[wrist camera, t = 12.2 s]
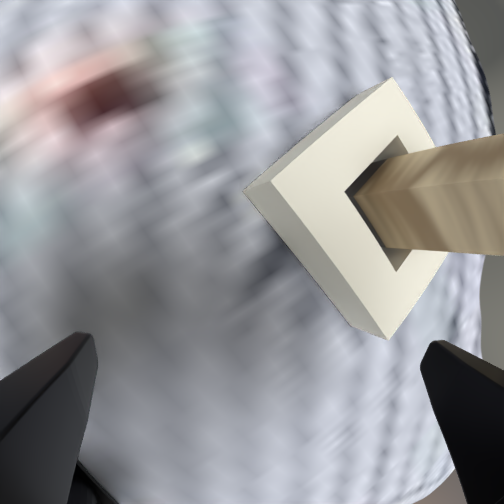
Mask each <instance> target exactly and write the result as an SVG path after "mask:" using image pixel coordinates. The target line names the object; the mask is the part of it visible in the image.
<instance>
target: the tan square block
mask: <svg viewBox="0 0 504 504" xmlns="http://www.w3.org/2000/svg"><path fill="white" fill-rule="evenodd" d="M344 192H345V194H346V195H347V196H348V198H349V199H350V201H351V202H352V204H353V205H354V207H355V208H356V210H357V211H358V213H359V214H360V216H361V217H362V219H363V220H364V222H365V223H366V225H367V226H368V228H369V229H370V231H371V233H372V234H373V236H374V237H375V239H376V240H377V242H378V244H379V245H380V247H383V248H398V249H413V250H428V251H442V252H456V253H470V254H484V255H497V256H504V134H499V135H494V136H489V137H483V138H478V139H473V140H468V141H464V142H459V143H454V144H449V145H445V146H440V147H436V148H431V149H427V150H422V151H418V152H414V153H409V154H405V155H401V156H397V157H392V158H388V159H384V160H380V161H376V162H372V163H371V164H370V165H369V166H368V167H367V168H366V169H365V170H364V171H363V172H362V173H361V174H360V175H359V176H358V177H357V179H356V180H355V181H354V182H353V183H352V184H351V185H350V186H349V187H348V188H347V189H346V190H345V191H344Z"/></svg>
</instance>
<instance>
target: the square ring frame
mask: <svg viewBox="0 0 504 504" xmlns="http://www.w3.org/2000/svg"><path fill="white" fill-rule="evenodd" d="M431 148H436V147H435V145H434V143H433V141H432V140H431V138H430V136H429V134H428V133H427V131H426V129H425V127H424V126H423V124H422V122H421V121H420V119H419V117H418V116H417V114H416V112H415V111H414V109H413V108H412V106H411V104H410V103H409V101H408V100H407V98H406V97H405V95H404V94H403V92H402V91H401V89H400V88H399V86H398V85H397V83H396V82H395V80H394V79H393V77H391V78H389V79H387V80H385V81H383V82H381V83H379V84H377V85H375V86H373V87H371V88H369V89H367V90H365V91H363V92H362V93H360V94H358V95H356V96H355V97H354V98H352V99H351V100H350V101H349V102H347V103H346V104H345V105H344V106H342V107H341V108H340V109H339V110H337V111H336V112H335V113H334V114H332V115H331V116H330V117H329V118H328V119H326V120H325V121H324V122H323V123H321V124H320V125H319V126H318V127H317V128H315V129H314V130H313V131H312V132H311V133H309V134H308V135H307V136H306V137H305V138H303V139H302V140H301V141H300V142H299V143H297V144H296V145H295V146H294V147H293V148H292V149H290V150H289V151H288V152H287V153H286V154H285V155H283V156H282V157H281V158H280V159H279V160H278V161H276V162H275V163H274V164H273V165H272V166H271V167H269V168H268V169H267V170H266V171H265V172H264V173H263V174H261V175H260V176H259V177H258V178H257V179H256V180H255V181H253V182H252V183H251V184H250V185H249V186H248V187H247V188H246V189H244V190H243V192H244V194H245V195H246V196H247V197H248V198H249V200H250V201H251V202H252V203H253V204H254V206H255V207H256V208H257V209H258V210H259V212H260V213H261V214H262V215H263V216H264V218H265V219H266V220H267V221H268V223H269V224H270V225H271V226H272V227H273V229H274V230H275V231H276V232H277V234H278V235H279V236H280V237H281V239H282V240H283V241H284V242H285V243H286V245H287V246H288V247H289V248H290V250H291V251H292V252H293V253H294V255H295V256H296V257H297V258H298V260H299V261H300V262H301V263H302V265H303V266H304V267H305V268H306V270H307V271H308V272H309V273H310V275H311V276H312V277H313V278H314V280H315V281H316V282H317V284H318V285H319V286H320V287H321V289H322V290H323V291H324V292H325V294H326V295H327V296H328V297H329V299H330V300H331V301H332V303H333V304H334V305H335V306H336V308H337V309H338V310H339V312H340V313H341V314H342V315H343V317H344V318H345V319H346V321H347V322H348V323H349V325H350V326H352V327H355V328H357V329H360V330H362V331H365V332H367V333H370V334H372V335H375V336H378V337H380V338H383V339H385V340H388V341H389V339H390V338H391V337H392V335H393V334H394V333H395V331H396V330H397V329H398V327H399V326H400V325H401V323H402V322H403V320H404V319H405V318H406V316H407V315H408V314H409V312H410V311H411V309H412V308H413V306H414V305H415V304H416V302H417V301H418V299H419V298H420V296H421V295H422V293H423V292H424V290H425V289H426V287H427V286H428V284H429V283H430V281H431V280H432V278H433V277H434V275H435V273H436V272H437V270H438V269H439V267H440V265H441V264H442V262H443V261H444V259H445V257H446V256H447V254H448V252H442V251H428V250H413V249H398V248H383V247H380V245H379V244H378V242H377V240H376V239H375V237H374V236H373V234H372V233H371V231H370V229H369V228H368V226H367V225H366V223H365V222H364V220H363V219H362V217H361V216H360V214H359V213H358V211H357V210H356V208H355V207H354V205H353V204H352V202H351V201H350V199H349V198H348V196H347V195H346V194H345V192H344V191H345V190H346V189H347V188H348V187H349V186H350V185H351V184H352V183H353V182H354V181H355V180H356V179H357V177H358V176H359V175H360V174H361V173H362V172H363V171H364V170H365V169H366V168H367V167H368V166H369V165H370V164H371V163H372V162H376V161H380V160H384V159H388V158H392V157H397V156H401V155H405V154H409V153H414V152H418V151H422V150H427V149H431Z"/></svg>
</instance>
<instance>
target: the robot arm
mask: <svg viewBox="0 0 504 504" xmlns="http://www.w3.org/2000/svg"><path fill="white" fill-rule="evenodd" d="M97 369H98V358H97V353H96V348H95V343H94V338H93V336H92V335H91V334H90V333H85V332H75V333H73V334H71V335H70V336H68V337H67V338H65V339H63V340H62V341H60V342H59V343H57V344H56V345H54V346H52V347H51V348H49V349H48V350H46V351H45V352H43V353H42V354H40V355H39V356H37V357H35V358H34V359H32V360H31V361H29V362H28V363H26V364H25V365H23V366H22V367H20V368H19V369H17V370H16V371H14V372H13V373H11V374H9V375H8V376H6V377H5V378H3V379H2V380H0V504H118V503H117V502H116V501H115V500H114V499H113V498H112V497H111V496H110V495H109V494H108V493H107V492H106V491H105V490H104V489H103V488H102V487H101V486H100V485H99V484H98V483H97V482H96V481H95V479H94V478H93V477H92V476H91V475H90V474H89V473H88V472H87V471H86V470H85V468H84V467H83V466H82V465H81V464H80V463H79V461H78V460H77V458H78V454H79V451H80V447H81V443H82V440H83V436H84V432H85V429H86V425H87V421H88V417H89V411H90V406H91V400H92V395H93V389H94V384H95V379H96V374H97ZM420 371H421V374H422V377H423V380H424V383H425V386H426V389H427V392H428V395H429V399H430V402H431V405H432V408H433V411H434V414H435V416H436V419H437V421H438V424H439V426H440V429H441V431H442V434H443V437H444V439H445V442H446V444H447V447H448V450H449V452H450V455H451V458H452V460H453V463H454V466H455V469H456V471H457V474H458V477H459V480H460V483H461V486H462V489H463V492H464V495H465V499H466V502H467V504H504V370H502V369H500V368H498V367H496V366H494V365H492V364H490V363H488V362H486V361H484V360H482V359H480V358H478V357H476V356H474V355H472V354H471V353H469V352H467V351H465V350H463V349H461V348H459V347H457V346H455V345H453V344H451V343H449V342H447V341H445V340H437V341H432V342H431V343H430V345H429V346H428V349H427V351H426V353H425V355H424V357H423V359H422V361H421V364H420Z"/></svg>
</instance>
